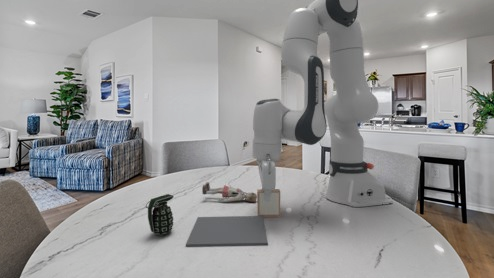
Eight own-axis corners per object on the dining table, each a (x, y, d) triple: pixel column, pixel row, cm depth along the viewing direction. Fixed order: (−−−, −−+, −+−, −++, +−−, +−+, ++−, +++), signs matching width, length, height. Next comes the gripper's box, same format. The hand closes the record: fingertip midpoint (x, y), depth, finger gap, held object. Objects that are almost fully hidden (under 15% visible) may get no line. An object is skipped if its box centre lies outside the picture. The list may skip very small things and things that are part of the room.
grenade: (166, 226, 72) (165, 192, 71) (178, 232, 69) (177, 196, 68) (145, 235, 67) (143, 199, 66) (157, 241, 64) (154, 203, 63)
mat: (262, 217, 77) (262, 215, 77) (267, 245, 61) (267, 242, 61) (197, 218, 77) (197, 217, 77) (185, 246, 61) (185, 244, 61)
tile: (279, 213, 80) (279, 189, 80) (280, 216, 78) (280, 191, 77) (257, 213, 80) (257, 189, 79) (257, 217, 78) (257, 192, 77)
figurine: (207, 180, 97) (258, 187, 93) (206, 194, 97) (256, 202, 94) (201, 185, 91) (256, 193, 87) (200, 200, 91) (254, 208, 88)
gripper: (281, 158, 67) (280, 208, 68) (273, 147, 87) (272, 186, 88) (258, 157, 67) (257, 208, 68) (255, 147, 87) (254, 186, 88)
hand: (265, 195), depth 78 cm, fingers open, 8 cm apart
